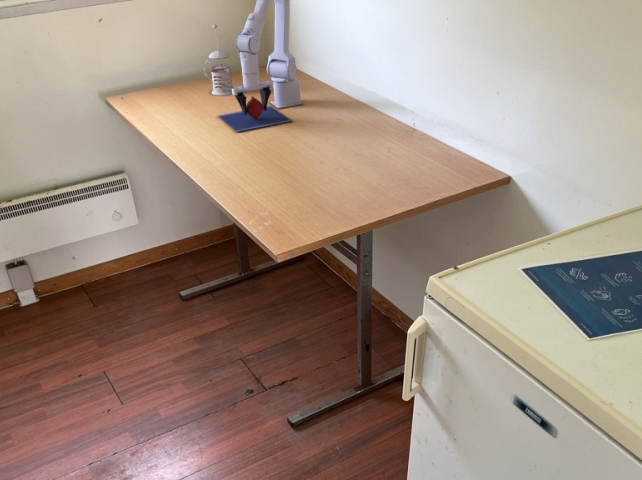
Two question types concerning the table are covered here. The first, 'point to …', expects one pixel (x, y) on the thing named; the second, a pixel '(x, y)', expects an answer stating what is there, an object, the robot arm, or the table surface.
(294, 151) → the table surface
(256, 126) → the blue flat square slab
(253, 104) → the onion
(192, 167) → the table surface
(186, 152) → the table surface
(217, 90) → the french press
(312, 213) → the table surface
